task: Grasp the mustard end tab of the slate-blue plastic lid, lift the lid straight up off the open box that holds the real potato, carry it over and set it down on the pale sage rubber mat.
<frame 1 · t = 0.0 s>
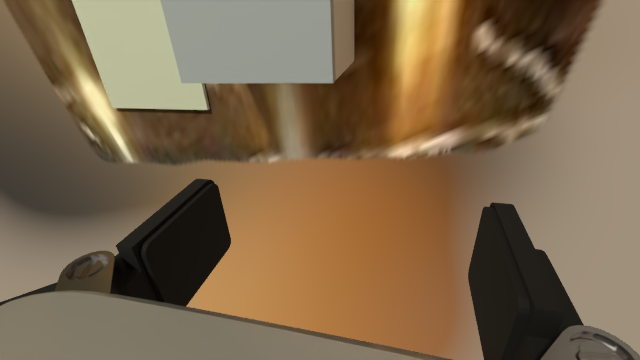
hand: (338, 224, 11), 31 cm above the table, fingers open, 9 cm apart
mat: (137, 32, 43), on the table
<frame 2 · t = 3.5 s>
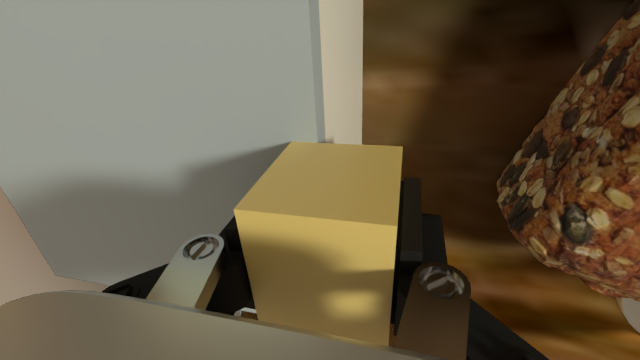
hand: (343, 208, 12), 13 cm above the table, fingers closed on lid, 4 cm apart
lid: (149, 172, 16), point 11 cm above the table, touching gripper, open box
open box: (246, 108, 25), on the table
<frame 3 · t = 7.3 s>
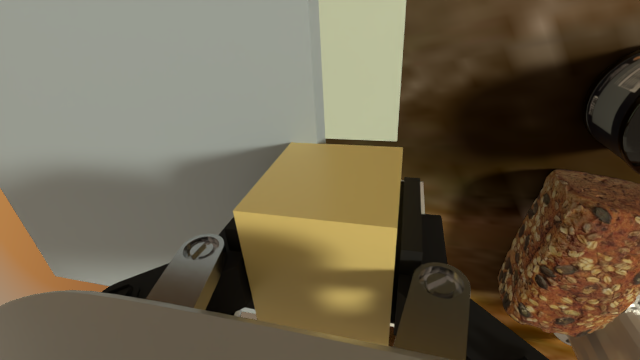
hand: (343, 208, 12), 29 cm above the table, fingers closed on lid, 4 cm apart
mat: (312, 70, 39), on the table
lid: (148, 172, 16), point 27 cm above the table, touching gripper
bread: (558, 232, 41), on the table
when the fingers open (5 cm above the table, at t = 11.3 s): lid drops 1 cm, resting on mat.
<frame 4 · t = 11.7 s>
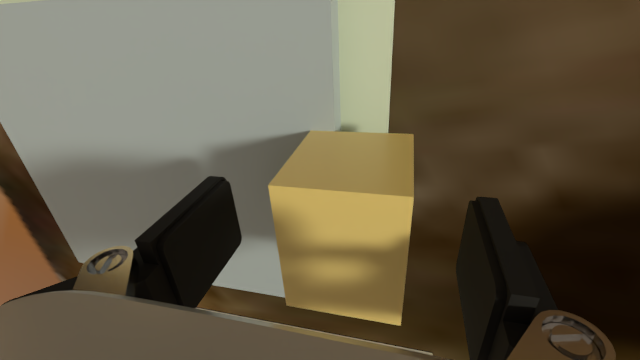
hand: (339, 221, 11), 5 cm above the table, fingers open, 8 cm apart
mat: (200, 149, 18), on the table
lid: (173, 161, 17), point 2 cm above the table, touching mat
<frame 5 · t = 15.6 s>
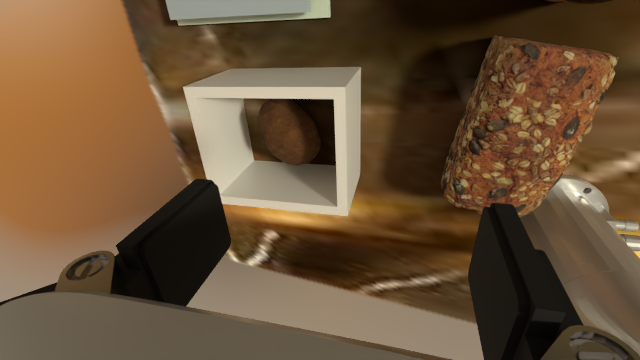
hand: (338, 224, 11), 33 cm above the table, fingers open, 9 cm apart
open box: (297, 123, 46), on the table
bread: (502, 118, 40), on the table
potato: (297, 122, 47), resting in open box
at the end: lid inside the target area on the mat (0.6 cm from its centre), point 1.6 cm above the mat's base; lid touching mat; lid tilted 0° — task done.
